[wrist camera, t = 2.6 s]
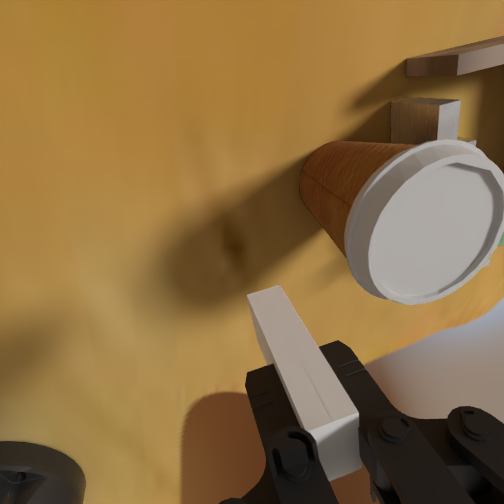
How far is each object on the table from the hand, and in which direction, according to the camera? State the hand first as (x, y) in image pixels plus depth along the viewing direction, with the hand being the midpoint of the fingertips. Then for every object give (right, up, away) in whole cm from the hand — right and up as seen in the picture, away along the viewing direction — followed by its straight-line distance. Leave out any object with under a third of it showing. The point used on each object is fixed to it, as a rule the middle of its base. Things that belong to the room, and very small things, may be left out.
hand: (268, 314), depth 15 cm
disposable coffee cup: (+6, +9, +13) cm, 17 cm away
